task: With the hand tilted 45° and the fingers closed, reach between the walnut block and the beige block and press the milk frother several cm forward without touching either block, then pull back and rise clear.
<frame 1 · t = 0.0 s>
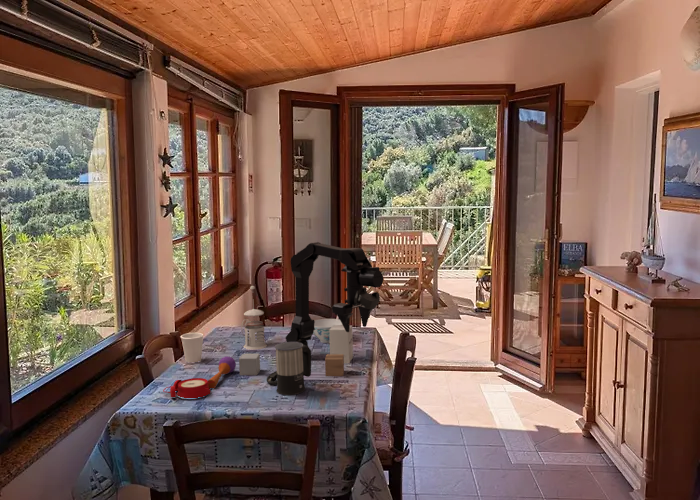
hand: (356, 329, 212), 15 cm above the table, tool pointing down, fingers open, 9 cm apart
supplement box: (341, 361, 227), on the table
alarm clock: (188, 395, 194), on the table
beige block: (250, 372, 215), on the table
french press: (253, 347, 249), on the table
dixie cup: (193, 361, 231), on the table
walnut block: (335, 373, 212), on the table
chinaware: (328, 341, 255), on the table
kendama: (221, 380, 209), on the table
milk frother: (284, 387, 199), on the table
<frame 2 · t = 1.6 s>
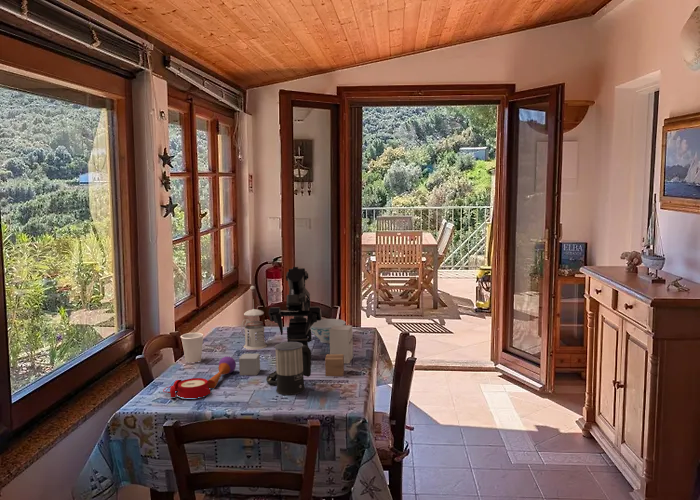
hand: (293, 334, 217), 12 cm above the table, tool tilted 45°, fingers open, 8 cm apart
nothing on the table moved.
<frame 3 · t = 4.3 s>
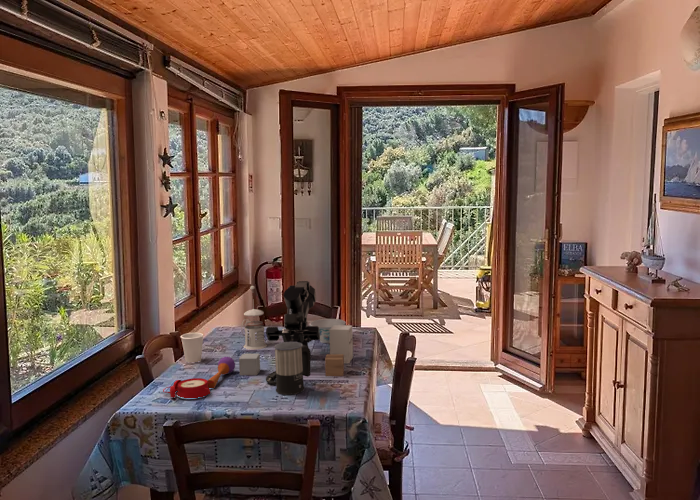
hand: (291, 354, 213), 7 cm above the table, tool tilted 45°, fingers closed
nothing on the table moved.
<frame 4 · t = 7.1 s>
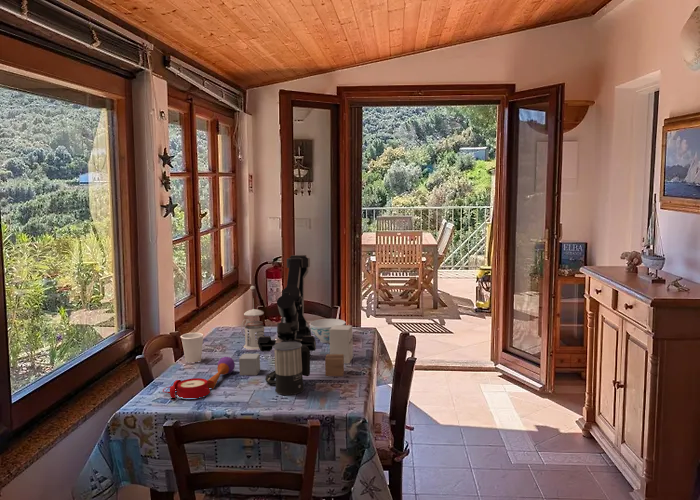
hand: (284, 366, 198), 7 cm above the table, tool tilted 45°, fingers closed
milk frother: (283, 387, 199), on the table, touching gripper
everything else where it was.
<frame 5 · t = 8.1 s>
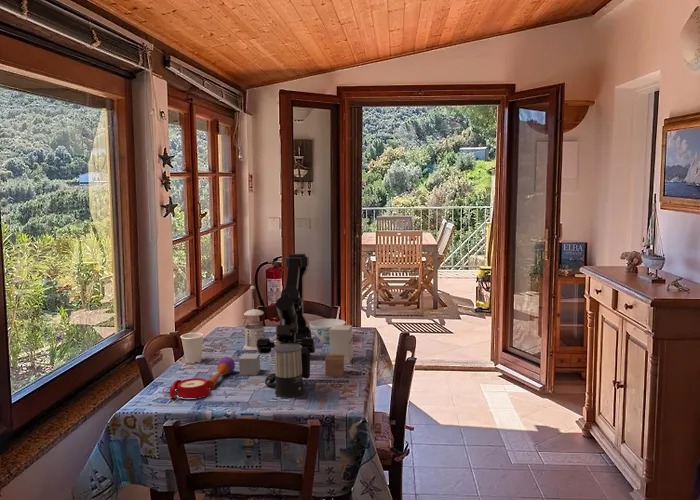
hand: (283, 368, 196), 7 cm above the table, tool tilted 45°, fingers closed
milk frother: (283, 389, 197), on the table, touching gripper
everything else where it was.
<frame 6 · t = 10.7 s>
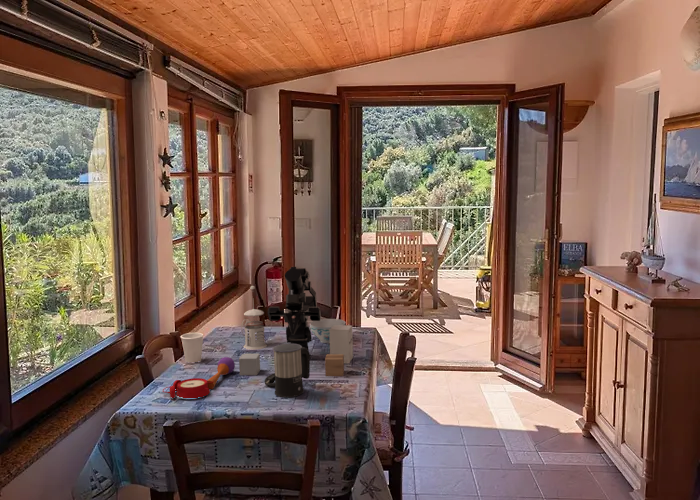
hand: (292, 334, 217), 13 cm above the table, tool tilted 45°, fingers closed
milk frother: (283, 390, 197), on the table
everything else where it was.
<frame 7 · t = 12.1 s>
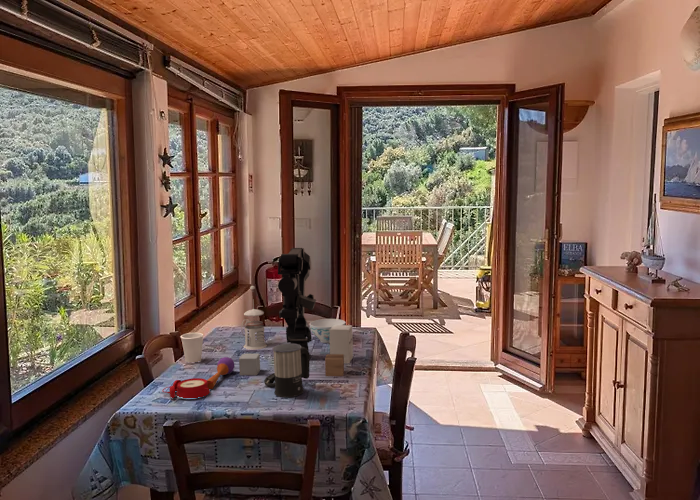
hand: (292, 332, 217), 13 cm above the table, tool pointing down, fingers closed
nothing on the table moved.
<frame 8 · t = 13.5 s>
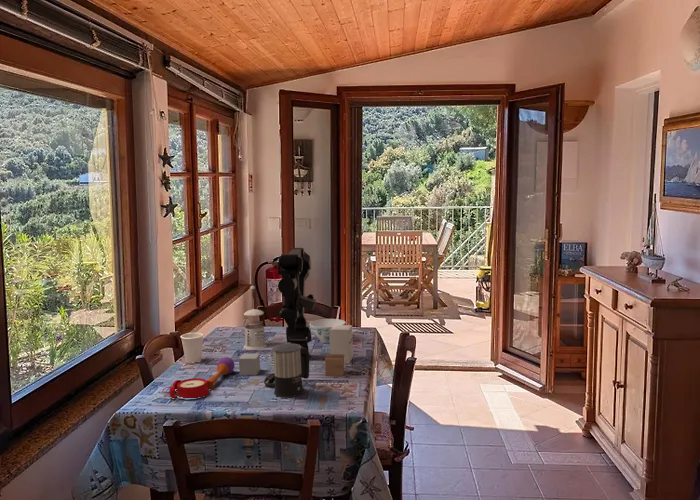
hand: (292, 332, 217), 13 cm above the table, tool pointing down, fingers closed
nothing on the table moved.
at the end: milk frother inside the target area (5.9 cm from its centre), on the table; walnut block moved 0.1 cm from its start; beige block moved 0.1 cm from its start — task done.
